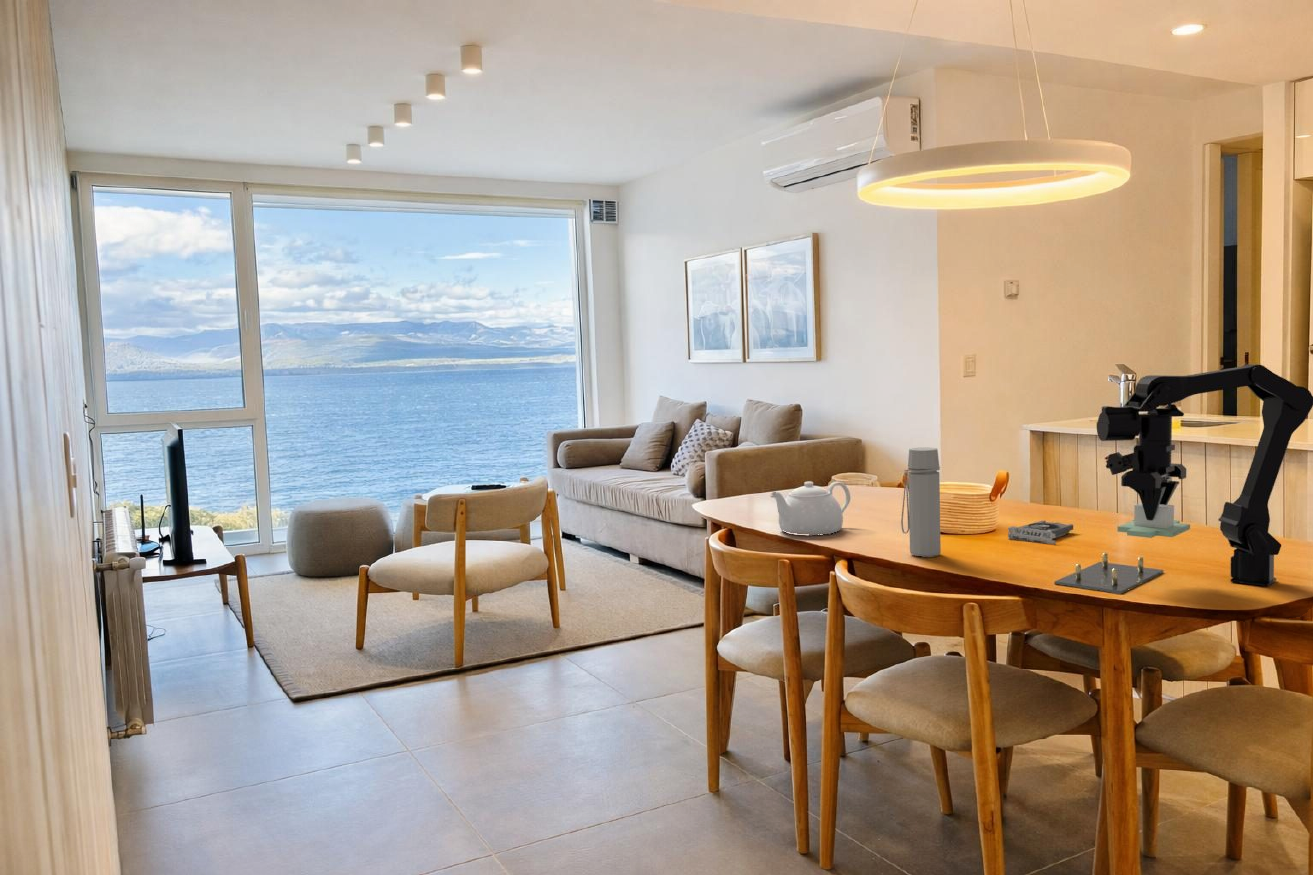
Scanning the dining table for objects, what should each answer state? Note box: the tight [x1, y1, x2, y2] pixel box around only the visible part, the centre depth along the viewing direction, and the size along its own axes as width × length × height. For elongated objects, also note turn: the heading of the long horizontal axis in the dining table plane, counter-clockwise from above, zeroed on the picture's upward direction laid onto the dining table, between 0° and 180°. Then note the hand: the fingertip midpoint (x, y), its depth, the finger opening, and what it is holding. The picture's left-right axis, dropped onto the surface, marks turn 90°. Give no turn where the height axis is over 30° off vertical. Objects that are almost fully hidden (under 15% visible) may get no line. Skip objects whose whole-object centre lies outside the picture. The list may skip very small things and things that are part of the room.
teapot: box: [770, 481, 851, 535], centre depth 264 cm, size 19×18×14 cm
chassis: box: [1054, 552, 1164, 595], centre depth 200 cm, size 13×22×4 cm, turn 133°
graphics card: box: [1007, 520, 1074, 545], centre depth 244 cm, size 17×4×12 cm
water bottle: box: [900, 447, 942, 558], centre depth 229 cm, size 9×8×25 cm
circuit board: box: [1117, 502, 1191, 539], centre depth 193 cm, size 10×16×5 cm, turn 135°
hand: (1153, 518), depth 193 cm, fingers closed on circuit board, 4 cm apart
